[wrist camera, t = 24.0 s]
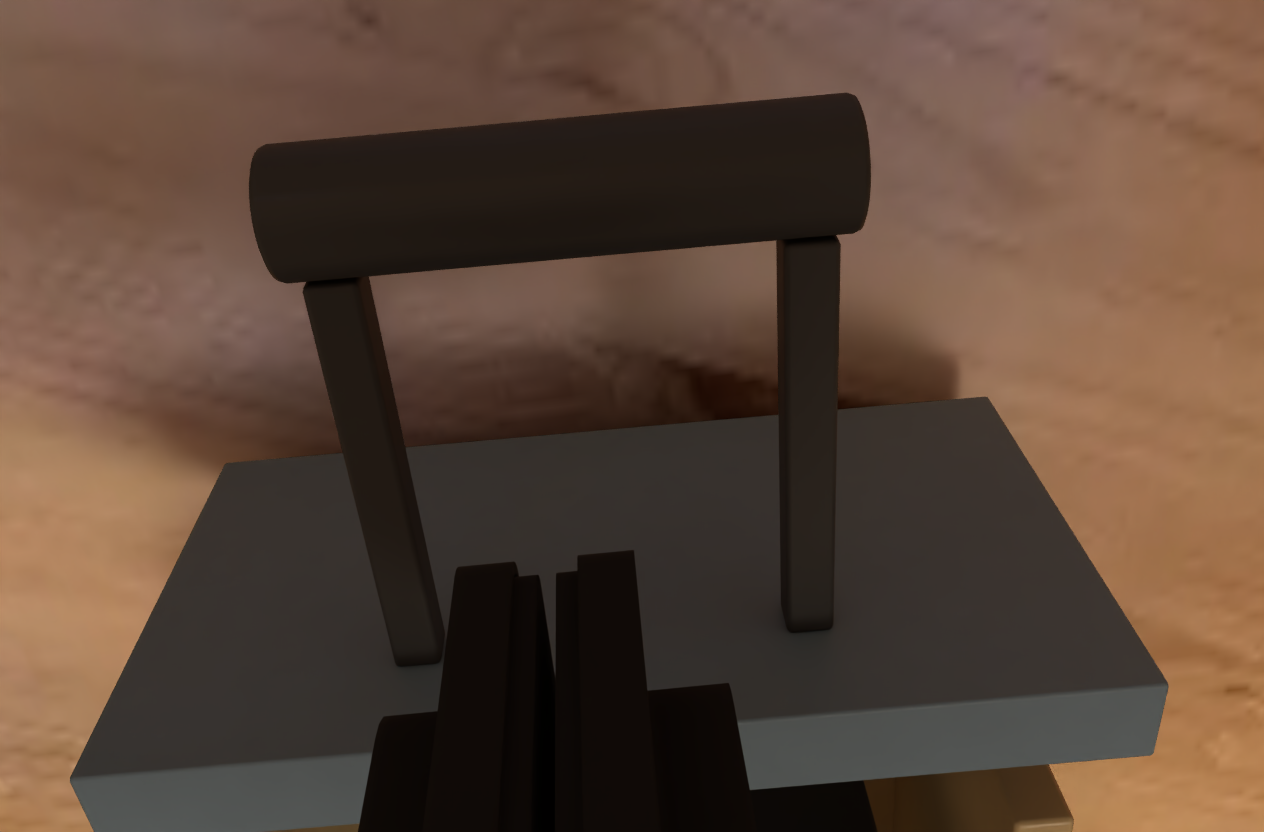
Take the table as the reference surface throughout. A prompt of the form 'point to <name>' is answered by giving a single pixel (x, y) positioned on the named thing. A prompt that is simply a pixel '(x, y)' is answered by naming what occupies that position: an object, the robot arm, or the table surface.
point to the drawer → (623, 511)
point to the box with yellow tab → (814, 808)
